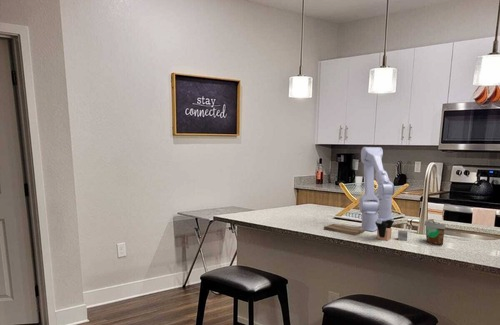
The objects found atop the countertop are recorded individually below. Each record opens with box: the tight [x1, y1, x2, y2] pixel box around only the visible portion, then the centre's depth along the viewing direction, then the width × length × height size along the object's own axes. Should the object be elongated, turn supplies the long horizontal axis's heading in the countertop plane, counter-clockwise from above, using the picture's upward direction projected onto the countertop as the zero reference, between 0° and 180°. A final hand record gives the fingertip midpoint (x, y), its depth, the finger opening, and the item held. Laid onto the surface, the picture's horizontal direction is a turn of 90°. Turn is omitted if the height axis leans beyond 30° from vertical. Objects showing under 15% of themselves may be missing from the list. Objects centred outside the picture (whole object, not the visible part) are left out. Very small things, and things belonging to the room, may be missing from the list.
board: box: [323, 223, 365, 236], centre depth 199 cm, size 10×18×2 cm, turn 49°
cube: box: [376, 227, 393, 241], centre depth 184 cm, size 5×5×5 cm
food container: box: [423, 218, 446, 246], centre depth 178 cm, size 12×6×10 cm, turn 178°
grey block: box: [397, 229, 408, 242], centre depth 183 cm, size 4×4×4 cm
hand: (384, 235), depth 184 cm, fingers closed on cube, 5 cm apart
